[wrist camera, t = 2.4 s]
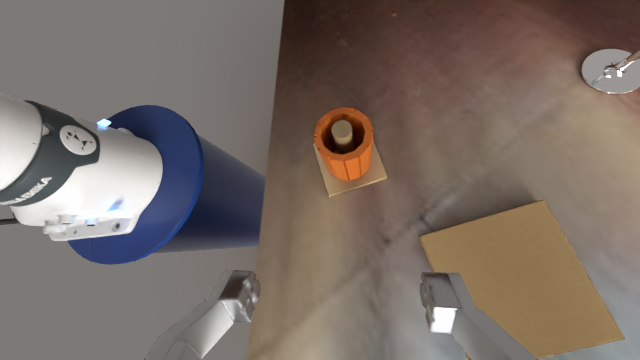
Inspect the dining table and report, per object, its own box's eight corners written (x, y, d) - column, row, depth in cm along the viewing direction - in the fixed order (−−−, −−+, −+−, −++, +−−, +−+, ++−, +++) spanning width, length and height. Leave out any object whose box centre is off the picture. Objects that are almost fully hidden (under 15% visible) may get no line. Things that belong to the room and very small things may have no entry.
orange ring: (333, 186, 31) (323, 169, 23) (320, 147, 33) (307, 118, 25) (377, 172, 30) (381, 149, 23) (362, 132, 32) (361, 99, 24)
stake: (329, 197, 32) (314, 179, 22) (313, 145, 34) (293, 109, 24) (386, 178, 31) (396, 151, 21) (366, 127, 33) (367, 81, 24)
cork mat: (471, 367, 24) (475, 373, 23) (418, 236, 28) (420, 236, 27) (615, 335, 23) (625, 339, 22) (537, 200, 27) (544, 199, 26)
